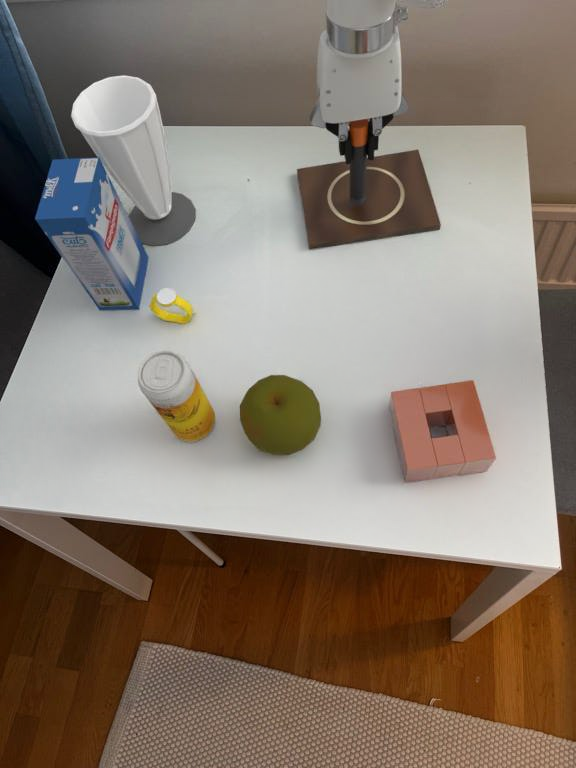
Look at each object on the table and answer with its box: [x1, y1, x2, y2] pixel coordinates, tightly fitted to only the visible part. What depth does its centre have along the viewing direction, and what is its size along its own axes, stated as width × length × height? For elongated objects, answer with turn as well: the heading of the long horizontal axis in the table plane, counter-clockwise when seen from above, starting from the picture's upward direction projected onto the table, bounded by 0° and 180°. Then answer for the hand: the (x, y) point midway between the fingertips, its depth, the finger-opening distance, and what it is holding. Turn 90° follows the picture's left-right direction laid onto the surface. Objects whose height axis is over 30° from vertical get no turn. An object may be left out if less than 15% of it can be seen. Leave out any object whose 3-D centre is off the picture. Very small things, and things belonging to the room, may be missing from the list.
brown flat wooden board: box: [296, 149, 442, 250], centre depth 91 cm, size 20×16×1 cm
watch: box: [149, 287, 194, 325], centre depth 83 cm, size 6×3×6 cm, turn 78°
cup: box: [70, 75, 197, 247], centre depth 85 cm, size 12×12×22 cm
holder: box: [388, 379, 497, 484], centre depth 71 cm, size 10×10×5 cm
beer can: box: [137, 350, 216, 443], centre depth 71 cm, size 6×6×15 cm
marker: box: [348, 119, 369, 205], centre depth 82 cm, size 2×2×14 cm
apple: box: [238, 374, 322, 456], centre depth 71 cm, size 10×10×11 cm
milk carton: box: [34, 156, 149, 311], centre depth 81 cm, size 10×6×20 cm, turn 178°
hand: (358, 154), depth 81 cm, fingers closed on marker, 2 cm apart
